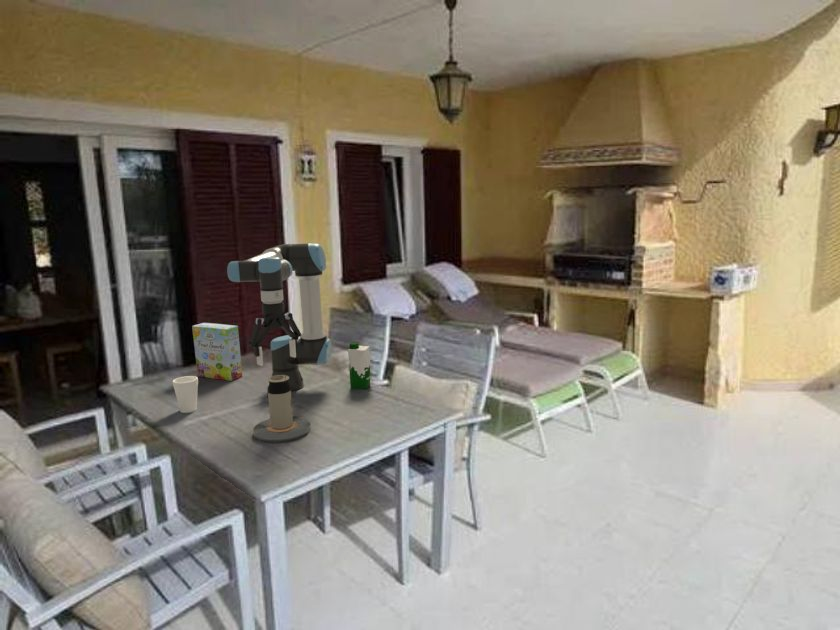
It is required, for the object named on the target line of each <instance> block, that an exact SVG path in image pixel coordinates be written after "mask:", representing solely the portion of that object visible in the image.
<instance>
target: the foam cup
mask: <svg viewBox="0 0 840 630" xmlns="http://www.w3.org/2000/svg"><path fill="white" fill-rule="evenodd" d="M198 377H199V376H195V375H188V376H187V375H186V376H184V375H183V376H179V377H177V378H176V377H175V378H174V379H173V380H172V387H173V389H174V393H175V398H176V400H177V405H178V408H179V411H180V413H181V414H182V413H183V414H188V413H193V412H196V411H197V410H198V390H199V389H198V388H199V387H198V386H199V378H198Z"/></svg>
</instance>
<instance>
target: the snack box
mask: <svg viewBox="0 0 840 630" xmlns="http://www.w3.org/2000/svg"><path fill="white" fill-rule="evenodd" d="M191 327H192V328H191V329H192V336H193V337H192V338H193V346H194V355H195V363H196V373H197V377H201V378H207V379H208V378H209V379H213V380H214V379H215V380H223V381H228V382H229V381H230V382H232V381H235V380H237V379H240V378H242V377H243V372H242V371H243V370H242V369H243V368H242V357H241V347H240V346H241V345H240V335H239V325H234V324H233V325H232V324H223V323H211V322H201V323H199V324H194V325H192V326H191Z"/></svg>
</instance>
